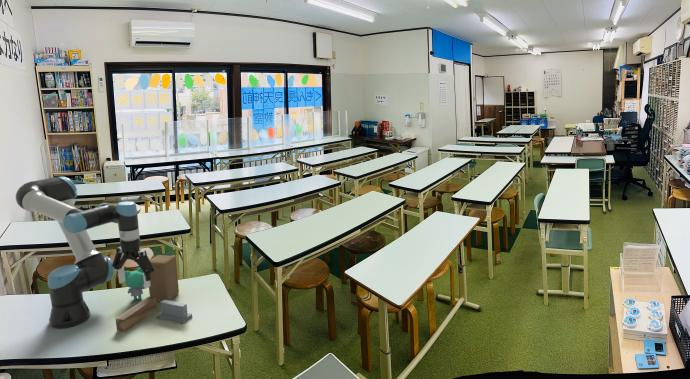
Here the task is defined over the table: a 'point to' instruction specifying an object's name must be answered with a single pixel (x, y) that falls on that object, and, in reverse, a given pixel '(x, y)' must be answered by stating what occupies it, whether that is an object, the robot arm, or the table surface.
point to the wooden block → (164, 278)
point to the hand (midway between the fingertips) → (134, 284)
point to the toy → (135, 282)
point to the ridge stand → (174, 311)
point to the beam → (136, 314)
